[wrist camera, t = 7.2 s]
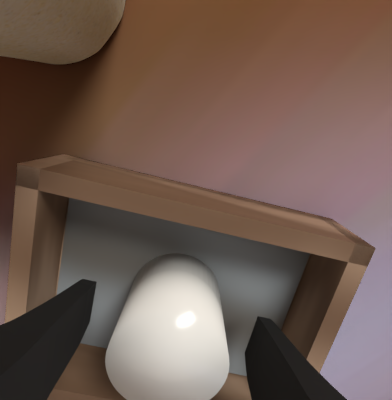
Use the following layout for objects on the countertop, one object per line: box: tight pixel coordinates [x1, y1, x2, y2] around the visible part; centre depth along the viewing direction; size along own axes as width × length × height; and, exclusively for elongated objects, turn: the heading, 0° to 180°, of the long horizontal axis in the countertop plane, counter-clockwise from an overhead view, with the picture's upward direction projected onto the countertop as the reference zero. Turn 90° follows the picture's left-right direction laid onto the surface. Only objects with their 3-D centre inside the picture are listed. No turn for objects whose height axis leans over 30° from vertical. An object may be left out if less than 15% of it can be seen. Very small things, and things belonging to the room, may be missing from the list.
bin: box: [5, 154, 375, 400], centre depth 14 cm, size 20×14×4 cm, turn 166°
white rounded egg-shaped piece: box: [105, 253, 229, 400], centre depth 12 cm, size 4×4×4 cm
